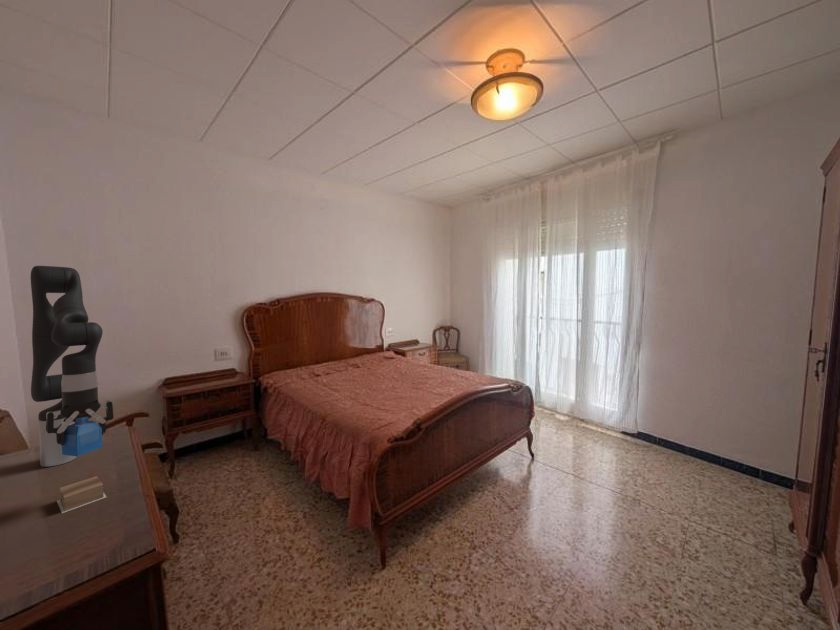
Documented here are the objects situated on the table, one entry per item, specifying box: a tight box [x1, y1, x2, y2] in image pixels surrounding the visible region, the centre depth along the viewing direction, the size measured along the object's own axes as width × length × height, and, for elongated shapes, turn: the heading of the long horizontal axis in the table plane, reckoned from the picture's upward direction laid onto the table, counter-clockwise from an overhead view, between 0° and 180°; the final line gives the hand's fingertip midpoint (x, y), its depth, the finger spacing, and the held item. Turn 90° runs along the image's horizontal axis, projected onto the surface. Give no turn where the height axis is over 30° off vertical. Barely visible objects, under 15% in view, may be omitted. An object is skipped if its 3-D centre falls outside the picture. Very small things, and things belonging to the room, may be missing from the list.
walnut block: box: [59, 475, 104, 512], centre depth 96 cm, size 8×8×4 cm
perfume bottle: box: [62, 413, 103, 458], centre depth 97 cm, size 6×6×12 cm
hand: (82, 439), depth 97 cm, fingers closed on perfume bottle, 8 cm apart
